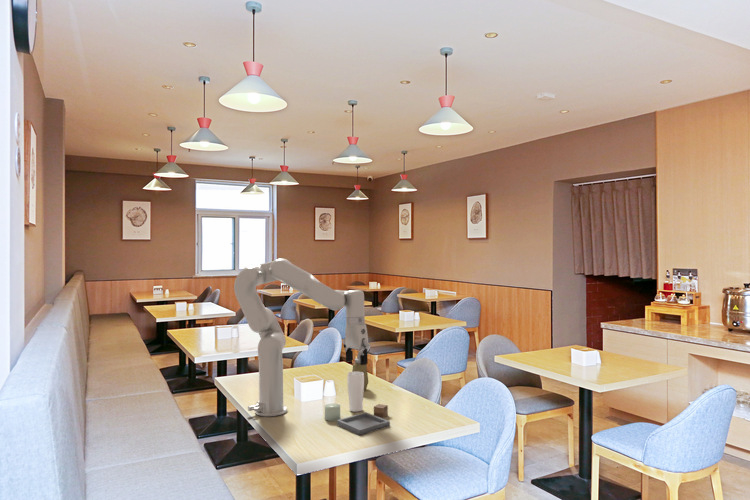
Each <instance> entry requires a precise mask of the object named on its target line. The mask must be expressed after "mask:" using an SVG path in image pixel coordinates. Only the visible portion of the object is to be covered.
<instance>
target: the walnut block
mask: <svg viewBox="0 0 750 500" xmlns="http://www.w3.org/2000/svg"><path fill="white" fill-rule="evenodd" d="M388 407H389V406H388V405H387V404H383V403H382V404H381V403H378V404H376V405H374V406H373V415H375V416H377V417H380V418H383V419H385V417H387V416H388V415H389V411H388V409H389V408H388Z"/></svg>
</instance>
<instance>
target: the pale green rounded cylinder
mask: <svg viewBox="0 0 750 500" xmlns="http://www.w3.org/2000/svg"><path fill="white" fill-rule="evenodd" d="M339 419H341V404H339V403H327V404H325V405H324V420H325V421H327V422H337V420H339Z"/></svg>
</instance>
